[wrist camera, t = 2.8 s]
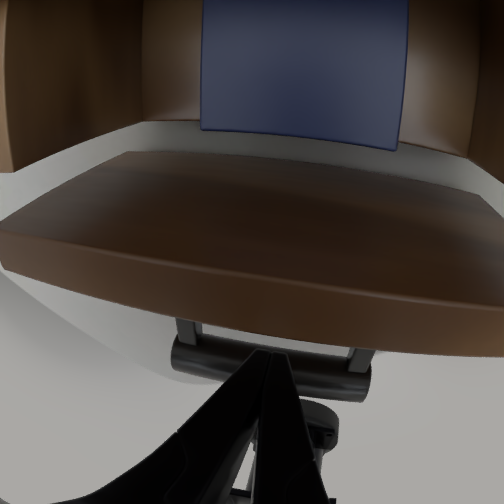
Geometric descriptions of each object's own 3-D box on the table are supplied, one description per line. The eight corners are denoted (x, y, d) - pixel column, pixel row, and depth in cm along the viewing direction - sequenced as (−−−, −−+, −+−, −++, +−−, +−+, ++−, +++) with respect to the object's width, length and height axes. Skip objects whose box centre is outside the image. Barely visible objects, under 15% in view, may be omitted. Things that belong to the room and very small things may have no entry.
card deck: (379, 135, 8) (397, 152, 6) (227, 119, 9) (199, 130, 7) (388, -33, 5) (406, -64, 3) (233, -44, 6) (207, -75, 4)
